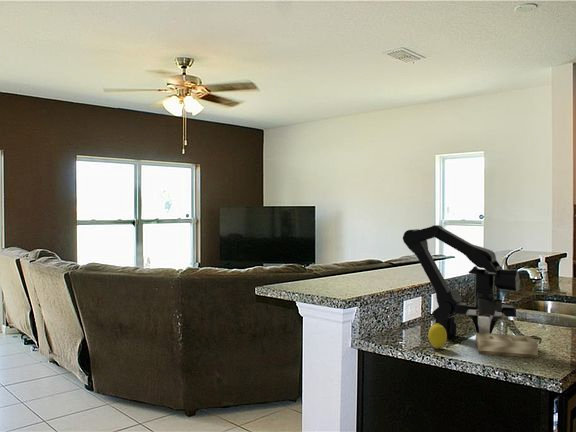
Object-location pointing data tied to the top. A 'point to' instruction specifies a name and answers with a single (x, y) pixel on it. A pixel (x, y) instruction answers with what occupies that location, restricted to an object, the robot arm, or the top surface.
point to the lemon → (437, 335)
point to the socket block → (506, 345)
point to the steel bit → (484, 324)
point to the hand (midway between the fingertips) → (483, 335)
